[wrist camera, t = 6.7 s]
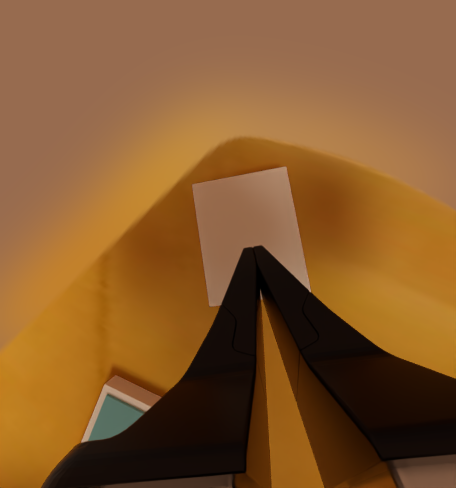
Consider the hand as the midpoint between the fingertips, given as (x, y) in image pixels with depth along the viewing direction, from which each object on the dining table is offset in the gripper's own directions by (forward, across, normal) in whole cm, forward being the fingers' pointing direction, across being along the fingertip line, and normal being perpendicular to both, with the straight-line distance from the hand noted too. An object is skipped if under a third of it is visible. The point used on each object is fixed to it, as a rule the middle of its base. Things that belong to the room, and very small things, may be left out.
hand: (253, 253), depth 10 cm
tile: (+2, 0, +6) cm, 7 cm away
